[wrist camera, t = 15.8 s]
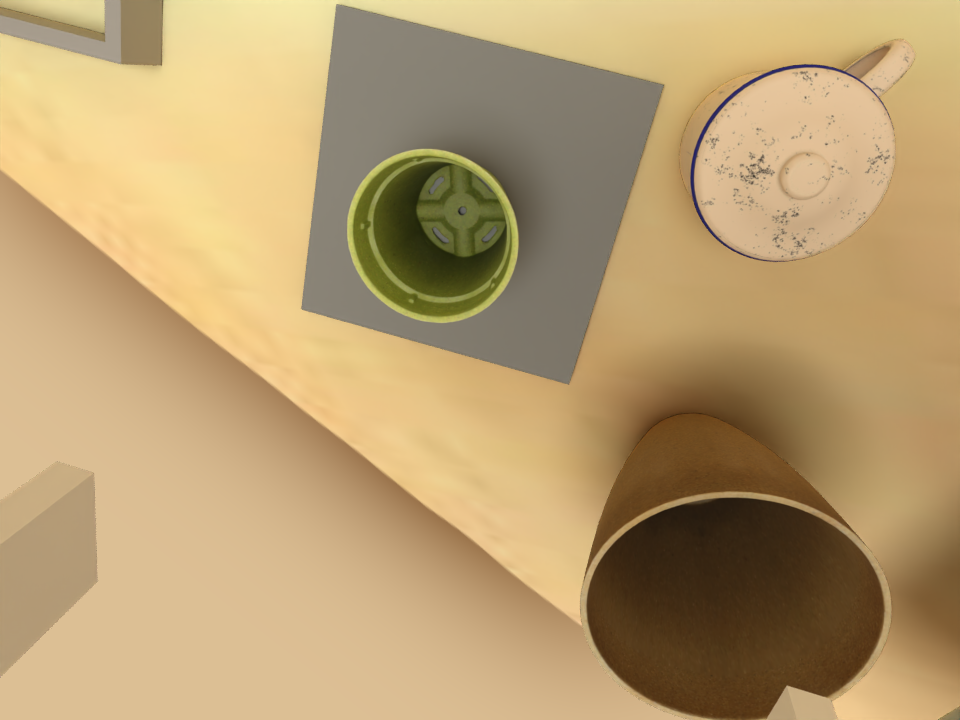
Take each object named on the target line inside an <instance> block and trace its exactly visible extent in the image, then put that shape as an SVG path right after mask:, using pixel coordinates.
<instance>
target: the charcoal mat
mask: <svg viewBox="0 0 960 720" xmlns="http://www.w3.org/2000/svg"><path fill="white" fill-rule="evenodd" d="M663 86H664V85H662V84H658V83H654V82H650V81H646V80H642V79H638V78H634V77H629V76H625V75H621V74H617V73H613V72H609V71H605V70H601V69H597V68H593V67H589V66H585V65H581V64H577V63H573V62H569V61H565V60H561V59H557V58H553V57H549V56H545V55H540V54H536V53H532V52H528V51H524V50H520V49H516V48H512V47H508V46H504V45H500V44H496V43H492V42H488V41H484V40H480V39H476V38H472V37H468V36H464V35H460V34H456V33H451V32H447V31H443V30H439V29H435V28H431V27H427V26H423V25H419V24H415V23H411V22H407V21H403V20H399V19H395V18H391V17H387V16H383V15H379V14H375V13H371V12H366V11H362V10H358V9H354V8H350V7H346V6H342V5H338V4H337V5H336V13H335V22H334V31H333V39H332V48H331V57H330V65H329V74H328V83H327V91H326V100H325V109H324V117H323V126H322V135H321V143H320V152H319V161H318V169H317V178H316V187H315V195H314V204H313V213H312V221H311V230H310V239H309V247H308V256H307V265H306V273H305V282H304V291H303V299H302V308H301V309H302V310H305V311H309V312H312V313H316V314H320V315H323V316H327V317H330V318H334V319H337V320H341V321H344V322H348V323H352V324H355V325H359V326H362V327H366V328H369V329H373V330H377V331H380V332H384V333H387V334H391V335H394V336H398V337H401V338H405V339H409V340H412V341H416V342H419V343H423V344H426V345H430V346H434V347H437V348H441V349H444V350H448V351H451V352H455V353H458V354H462V355H466V356H469V357H473V358H476V359H480V360H483V361H487V362H491V363H494V364H498V365H501V366H505V367H508V368H512V369H515V370H519V371H523V372H526V373H530V374H533V375H537V376H540V377H544V378H547V379H551V380H555V381H558V382H562V383H565V384H569V383H570V380H571V376H572V373H573V370H574V367H575V364H576V361H577V357H578V354H579V351H580V348H581V345H582V342H583V339H584V335H585V332H586V329H587V326H588V323H589V320H590V316H591V313H592V310H593V307H594V304H595V301H596V298H597V294H598V291H599V288H600V285H601V282H602V279H603V275H604V272H605V269H606V266H607V263H608V260H609V257H610V253H611V250H612V247H613V244H614V241H615V238H616V234H617V231H618V228H619V225H620V222H621V219H622V216H623V212H624V209H625V206H626V203H627V200H628V197H629V193H630V190H631V187H632V184H633V181H634V178H635V175H636V171H637V168H638V165H639V162H640V159H641V156H642V152H643V149H644V146H645V143H646V140H647V137H648V134H649V130H650V127H651V124H652V121H653V118H654V115H655V111H656V108H657V105H658V102H659V99H660V96H661V93H662V89H663ZM415 149H438V150H444V151H448V152H452V153H455V154H458V155H461V156H463V157H465V158H467V159H469V160H471V161H473V162H475V163H476V164H478V165H479V166H481V167H483V168H485V169H486V170H488V171H489V172H491V173H492V174H493V175H494V176H495V177H496V178H497V179H498V180H499V182H500V183H501V185H502V186H503V188H504V190H505V192H506V195H507V197H508V199H509V201H510V203H511V205H512V208H513V210H514V213H515V217H516V221H517V226H518V233H519V249H518V256H517V261H516V265H515V268H514V271H513V274H512V276H511V279H510V281H509V283H508V284H507V286H506V288H505V289H504V291H503V292H502V293H501V295H500V296H499V297H498V298H497V299H496V300H495V301H494V302H493V303H492V304H491V305H490V306H488V307H487V308H486V309H484V310H483V311H481V312H480V313H478V314H476V315H474V316H472V317H469V318H466V319H464V320H460V321H455V322H448V323H435V322H425V321H420V320H416V319H413V318H410V317H408V316H405V315H403V314H401V313H398V312H397V311H395V310H393V309H392V308H390V307H389V306H387V305H386V304H385V303H383V302H382V301H381V300H380V299H379V298H377V297H376V296H375V295H374V294H373V293H372V292H371V291H370V289H369V288H368V287H367V286H366V284H365V283H364V282H363V280H362V279H361V277H360V275H359V274H358V272H357V270H356V268H355V266H354V263H353V261H352V257H351V254H350V250H349V246H348V239H347V219H348V213H349V209H350V206H351V202H352V200H353V197H354V195H355V193H356V191H357V189H358V187H359V186H360V184H361V183H362V181H363V180H364V179H365V177H366V176H367V175H368V174H369V173H370V172H371V171H372V170H373V169H374V168H375V167H376V166H377V165H379V164H380V163H381V162H383V161H384V160H386V159H388V158H390V157H392V156H394V155H396V154H399V153H402V152H406V151H409V150H415ZM478 179H479V180H480V181H481V182H483V183H484V184H485V185H486V186H487V188H488V189H489V190H490V191H491V192H493V191H492V189H491V188H490V187H489V186H488V185H487V184H486V183H485V182H484V181H483V180H482V179H481V178H479V177H478ZM443 181H444V178H442V177H440V178H438V179H437V180H435V182H434V185H433V186H432V187H431V188H430V189H429V192H430V194H433V193H434V191H435V189H436V188H437V187H438V186H439V185H440V184H441V183H442V182H443ZM458 212H459V214H460V215H464V214H465V213H466V209H465V208H464V207H461V208H460V209H459V210H458ZM496 231H497V229H496V226H494V227H493V228H492V230H491V231H490V232H489V233H488V234H487V235H486V236H485V237H484V238H483V239H482V241H483V242H487V241H488V240H490V239H491V237H492V236H493V235H494V234H495V232H496ZM433 232H434V234H435V235H436V236H437V237H438V238H439V240H441V241H442V242H444V243H449V240H448V239H447V238H445V237H444V236H443V235H442V234H441V233H440V232H439V231H438V230H437V228H433Z"/></svg>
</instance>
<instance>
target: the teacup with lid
mask: <svg viewBox="0 0 960 720" xmlns="http://www.w3.org/2000/svg"><path fill="white" fill-rule="evenodd" d="M914 59H915V51H914V49H913V48H912V46H911V45H910V44H909V43H908V42H907V41H906V40H903V39H895V40H892V41H889V42H886V43H884V44H882V45H880V46H878V47H876V48H874V49H872V50H871V51H869V52H867V53H866V54H864V55H863V56H861V57H860V58H858V59H857V60H856V61H854V62H853V63H852V64H850V65H849V66H848V67H846V68H845V69H844V70H843V71H842V70H839V69H836V68H833V67H828V66H823V65H807V64H804V65H793V66H788V67H783V68H779V69H776V70H772V71H764V72H755V73H750V74H746V75H743V76H740V77H737V78H735V79H732V80H730V81H728V82H726V83H725V84H723V85H722V86H720V87H718V88H717V89H716V90H714V91H713V92H712V93H711V94H710V95H709V96H707V97H706V98H705V99H704V100H703V102H702V103H701V104H700V105H699V106H698V108H697V109H696V110H695V112H694V113H693V115H692V116H691V118H690V120H689V122H688V124H687V126H686V128H685V131H684V134H683V137H682V141H681V145H680V154H679V163H680V171H681V176H682V180H683V182H684V185H685V187H686V189H687V191H688V193H689V195H690V196H691V198H692V199H693V201H694V205H695V208H696V210H697V213H698V215H699V217H700V219H701V220H702V222H703V224H704V225H705V227H706V228H707V229H708V231H709V232H710V233H711V234H712V235H713V236H714V237H715V238H716V239H717V240H718V241H719V242H721V243H722V244H723V245H724V246H726V247H727V248H729V249H731V250H732V251H734V252H736V253H739V254H741V255H743V256H746V257H749V258H753V259H757V260H762V261H772V262H784V261H793V260H799V259H804V258H807V257H811V256H814V255H817V254H819V253H822V252H824V251H827V250H829V249H831V248H833V247H835V246H836V245H838V244H840V243H841V242H843V241H844V240H846V239H847V238H848V237H850V236H851V235H852V234H854V233H855V232H856V231H857V230H858V229H859V228H860V227H861V226H862V225H863V224H864V223H865V222H866V221H867V220H868V219H869V218H870V217H871V215H872V214H873V213H874V211H875V210H876V209H877V207H878V206H879V204H880V202H881V201H882V199H883V197H884V195H885V193H886V191H887V189H888V186H889V183H890V181H891V178H892V174H893V170H894V164H895V154H896V146H895V135H894V129H893V125H892V122H891V119H890V116H889V114H888V112H887V110H886V108H885V106H884V104H883V103H882V101H881V100H880V98H879V97H880V96H882V95H883V94H884V93H885V92H886V91H887V90H889V89H890V88H891V87H892V86H893V85H894V84H895V83H896V82H897V81H898V80H899V79H900V78H901V77H902V76H903V75H904V74H905V73H906V72H907V70H908V69H909V68H910V66H911V65H912V63H913V61H914Z"/></svg>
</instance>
